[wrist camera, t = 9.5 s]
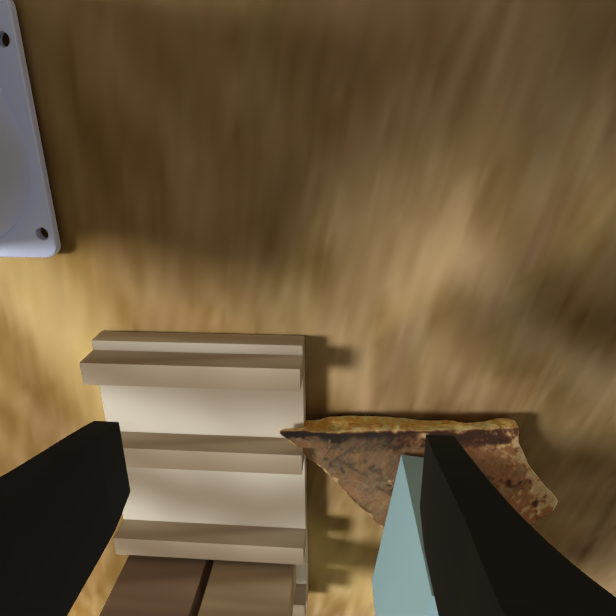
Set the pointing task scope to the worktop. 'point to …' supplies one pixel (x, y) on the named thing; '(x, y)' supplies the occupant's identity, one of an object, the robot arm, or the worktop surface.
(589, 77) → the worktop surface
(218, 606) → the oak offcut
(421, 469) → the teal panel
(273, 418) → the birch rack
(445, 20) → the worktop surface
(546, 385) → the worktop surface
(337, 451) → the shard
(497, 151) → the worktop surface
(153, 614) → the walnut offcut
